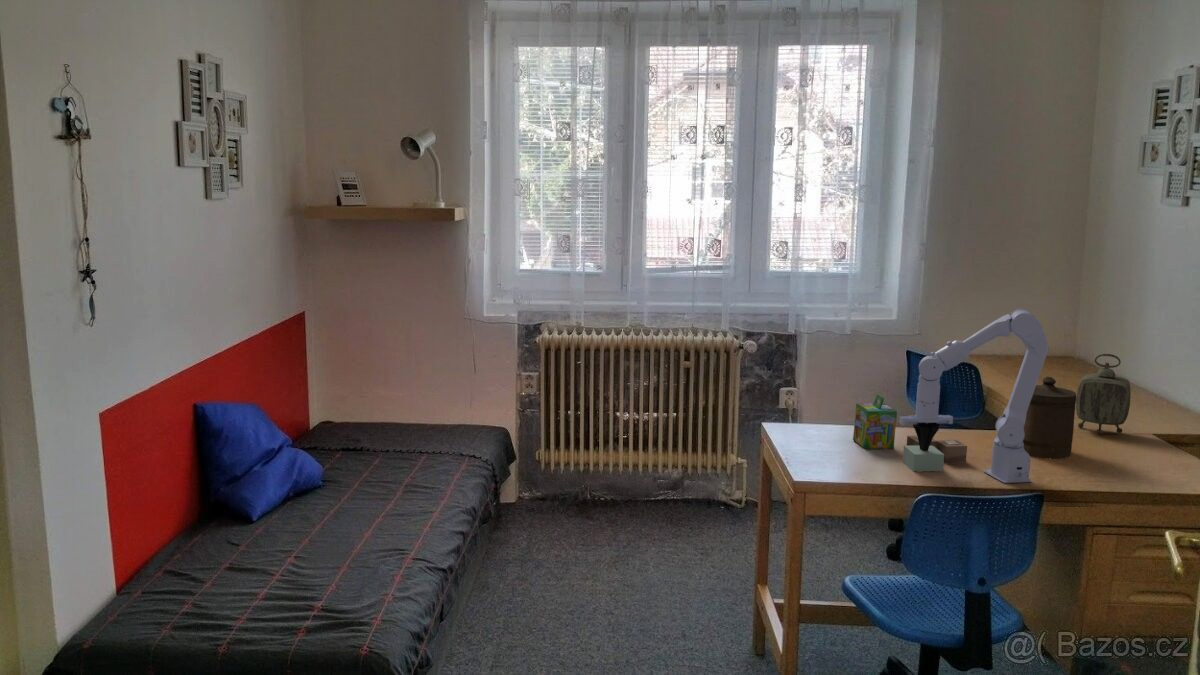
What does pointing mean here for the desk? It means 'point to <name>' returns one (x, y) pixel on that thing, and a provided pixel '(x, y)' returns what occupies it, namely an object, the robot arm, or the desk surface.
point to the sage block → (923, 459)
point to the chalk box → (875, 425)
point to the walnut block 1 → (914, 441)
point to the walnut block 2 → (952, 451)
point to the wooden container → (1050, 421)
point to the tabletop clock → (1103, 397)
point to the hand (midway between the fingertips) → (923, 449)
